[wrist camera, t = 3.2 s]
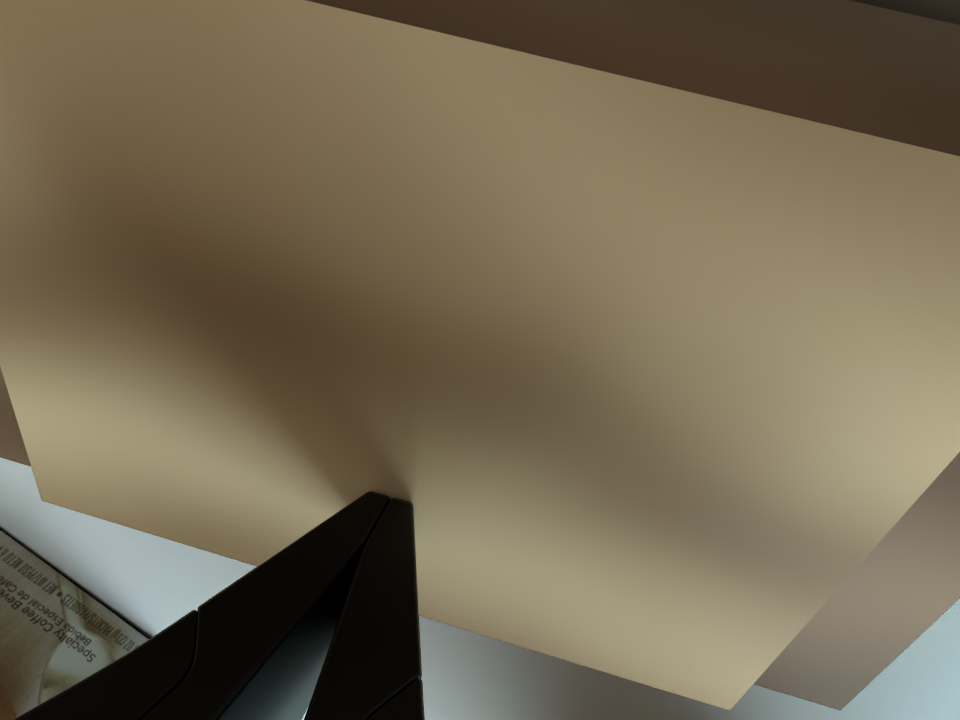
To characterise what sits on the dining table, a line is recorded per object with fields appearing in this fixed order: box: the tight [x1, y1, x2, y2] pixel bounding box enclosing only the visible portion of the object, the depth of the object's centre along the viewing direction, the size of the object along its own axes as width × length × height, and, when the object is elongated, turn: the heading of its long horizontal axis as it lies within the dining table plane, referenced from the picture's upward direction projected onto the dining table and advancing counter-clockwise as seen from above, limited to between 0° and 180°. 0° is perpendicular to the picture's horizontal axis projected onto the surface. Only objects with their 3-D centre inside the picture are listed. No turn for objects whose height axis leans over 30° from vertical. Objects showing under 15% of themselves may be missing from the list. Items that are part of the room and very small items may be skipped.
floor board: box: [0, 0, 960, 710], centre depth 8 cm, size 16×22×3 cm
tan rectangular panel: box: [0, 0, 960, 710], centre depth 8 cm, size 10×15×2 cm, turn 78°
